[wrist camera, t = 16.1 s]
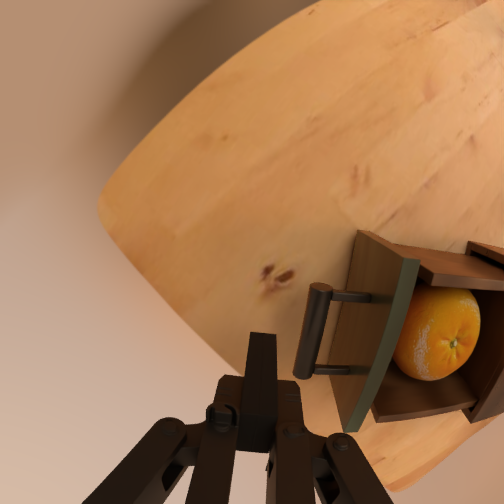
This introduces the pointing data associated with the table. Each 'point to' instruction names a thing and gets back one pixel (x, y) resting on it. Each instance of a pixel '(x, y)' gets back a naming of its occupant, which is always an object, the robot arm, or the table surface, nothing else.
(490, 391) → the cabinet
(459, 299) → the fruit
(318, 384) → the table surface
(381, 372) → the drawer
